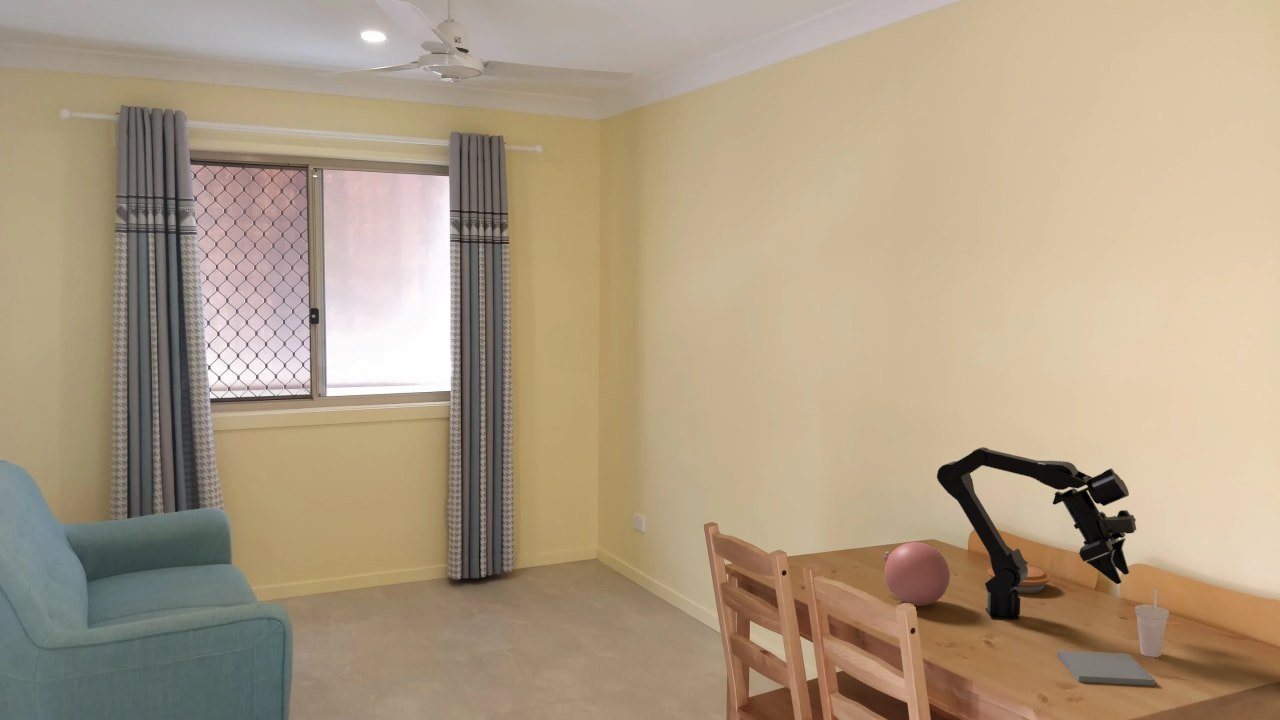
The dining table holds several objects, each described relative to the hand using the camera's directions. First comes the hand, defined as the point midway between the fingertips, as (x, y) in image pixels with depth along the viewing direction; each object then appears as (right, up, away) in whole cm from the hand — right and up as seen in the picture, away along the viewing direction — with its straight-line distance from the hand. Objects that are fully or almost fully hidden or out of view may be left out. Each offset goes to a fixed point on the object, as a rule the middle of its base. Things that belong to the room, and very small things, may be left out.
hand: (1123, 578), depth 208 cm
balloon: (-39, -12, +27) cm, 49 cm away
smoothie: (+1, -14, -9) cm, 17 cm away
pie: (-7, -12, +40) cm, 42 cm away
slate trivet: (-13, -14, -18) cm, 27 cm away
